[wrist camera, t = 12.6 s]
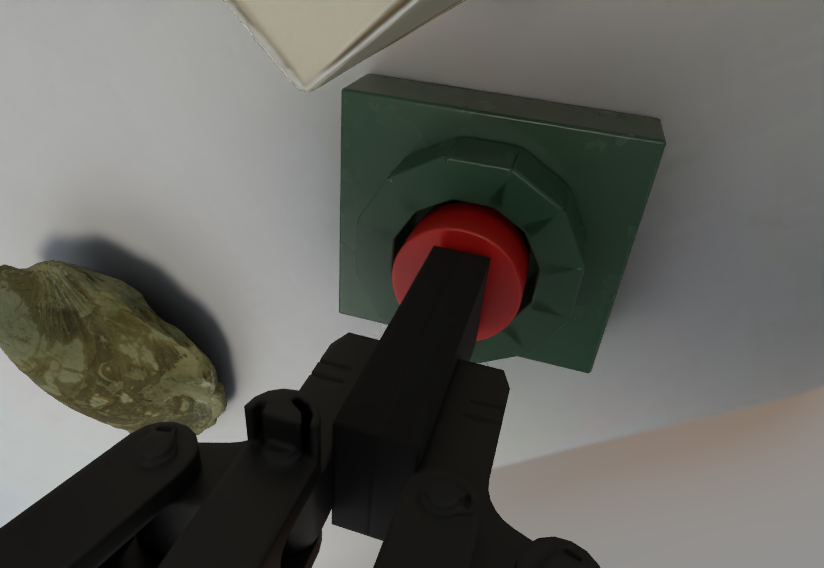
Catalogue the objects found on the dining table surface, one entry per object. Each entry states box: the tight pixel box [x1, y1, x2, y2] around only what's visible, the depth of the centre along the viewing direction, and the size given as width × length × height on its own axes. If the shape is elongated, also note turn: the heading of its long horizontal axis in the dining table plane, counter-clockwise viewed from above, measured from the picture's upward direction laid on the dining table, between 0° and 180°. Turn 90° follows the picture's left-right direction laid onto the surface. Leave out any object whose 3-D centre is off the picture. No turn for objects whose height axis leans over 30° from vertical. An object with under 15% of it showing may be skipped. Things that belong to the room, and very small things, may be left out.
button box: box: [339, 74, 666, 373], centre depth 18 cm, size 9×8×4 cm
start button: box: [392, 202, 529, 341], centre depth 16 cm, size 4×4×2 cm
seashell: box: [0, 260, 227, 435], centre depth 27 cm, size 10×7×10 cm
